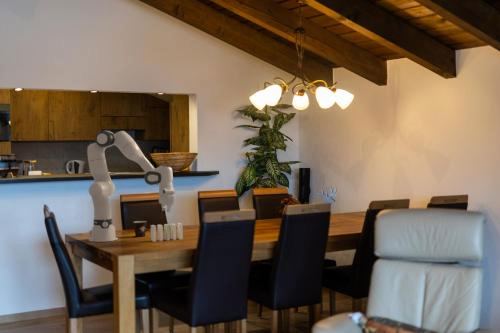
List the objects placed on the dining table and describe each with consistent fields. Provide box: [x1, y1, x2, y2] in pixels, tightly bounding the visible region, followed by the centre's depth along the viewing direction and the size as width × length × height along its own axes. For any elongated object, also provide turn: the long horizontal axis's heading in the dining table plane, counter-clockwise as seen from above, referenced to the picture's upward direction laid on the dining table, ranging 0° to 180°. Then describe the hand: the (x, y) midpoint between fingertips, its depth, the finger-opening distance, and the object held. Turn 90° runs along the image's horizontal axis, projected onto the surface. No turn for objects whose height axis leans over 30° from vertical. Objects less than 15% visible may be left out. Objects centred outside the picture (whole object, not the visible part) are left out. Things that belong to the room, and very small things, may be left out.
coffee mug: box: [133, 220, 151, 238], centre depth 459 cm, size 12×9×10 cm
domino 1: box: [150, 224, 157, 243], centre depth 436 cm, size 5×2×10 cm, turn 25°
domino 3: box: [163, 223, 171, 241], centre depth 440 cm, size 5×2×10 cm, turn 25°
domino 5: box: [176, 222, 184, 240], centre depth 444 cm, size 5×2×10 cm, turn 25°
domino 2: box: [156, 224, 164, 242], centre depth 438 cm, size 5×2×10 cm, turn 25°
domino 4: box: [170, 223, 177, 241], centre depth 442 cm, size 5×2×10 cm, turn 25°
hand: (166, 211), depth 439 cm, fingers open, 8 cm apart
